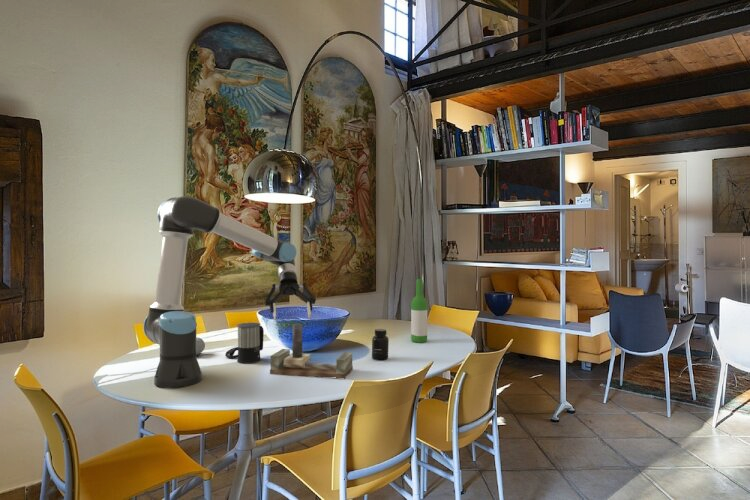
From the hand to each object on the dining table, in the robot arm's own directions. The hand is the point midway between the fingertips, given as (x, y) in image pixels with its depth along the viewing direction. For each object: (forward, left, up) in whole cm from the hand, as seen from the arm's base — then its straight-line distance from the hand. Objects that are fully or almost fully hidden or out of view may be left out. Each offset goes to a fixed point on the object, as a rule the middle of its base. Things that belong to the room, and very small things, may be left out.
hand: (292, 317), depth 184 cm
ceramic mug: (+2, +47, -18) cm, 51 cm away
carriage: (-9, -6, -16) cm, 20 cm away
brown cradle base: (-9, -11, -18) cm, 23 cm away
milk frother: (+2, +22, -18) cm, 29 cm away
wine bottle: (+51, -44, -18) cm, 70 cm away
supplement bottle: (+15, -32, -18) cm, 40 cm away
